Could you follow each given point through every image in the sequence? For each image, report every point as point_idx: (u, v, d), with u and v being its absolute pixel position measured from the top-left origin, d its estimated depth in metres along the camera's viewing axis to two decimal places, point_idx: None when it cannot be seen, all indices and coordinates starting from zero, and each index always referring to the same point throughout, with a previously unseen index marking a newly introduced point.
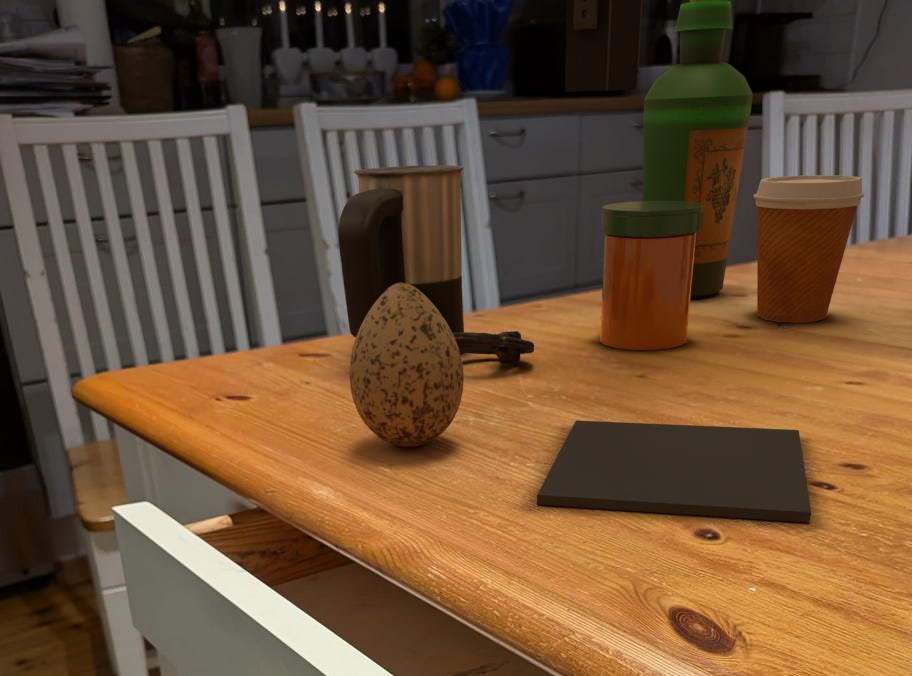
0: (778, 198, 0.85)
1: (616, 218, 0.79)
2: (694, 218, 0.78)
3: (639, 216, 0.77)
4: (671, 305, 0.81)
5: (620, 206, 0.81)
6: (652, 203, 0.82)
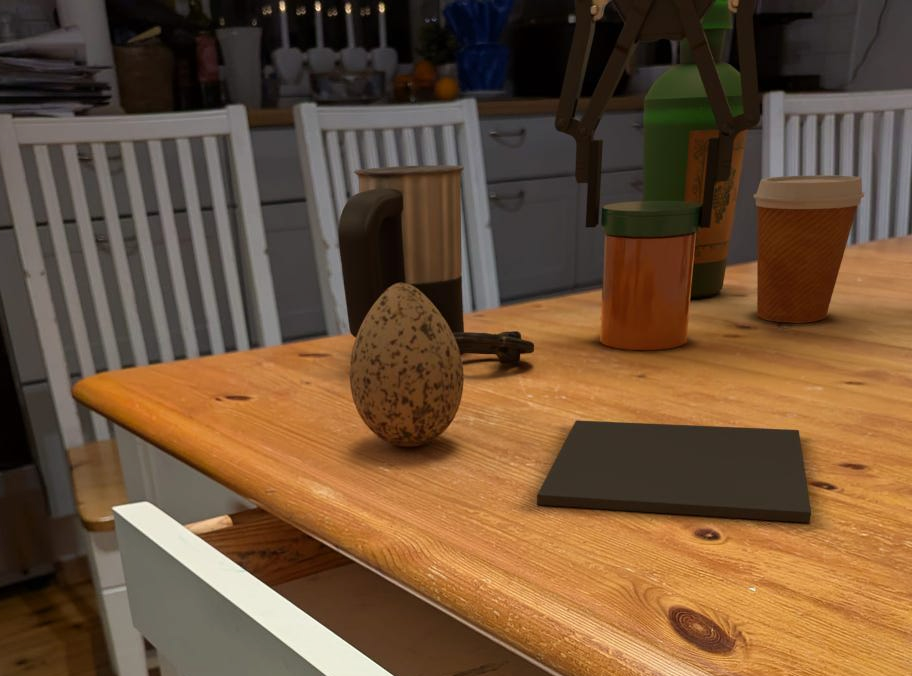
0: (778, 198, 0.85)
1: (616, 218, 0.79)
2: (694, 218, 0.78)
3: (639, 216, 0.77)
4: (671, 305, 0.81)
5: (620, 206, 0.81)
6: (652, 203, 0.82)
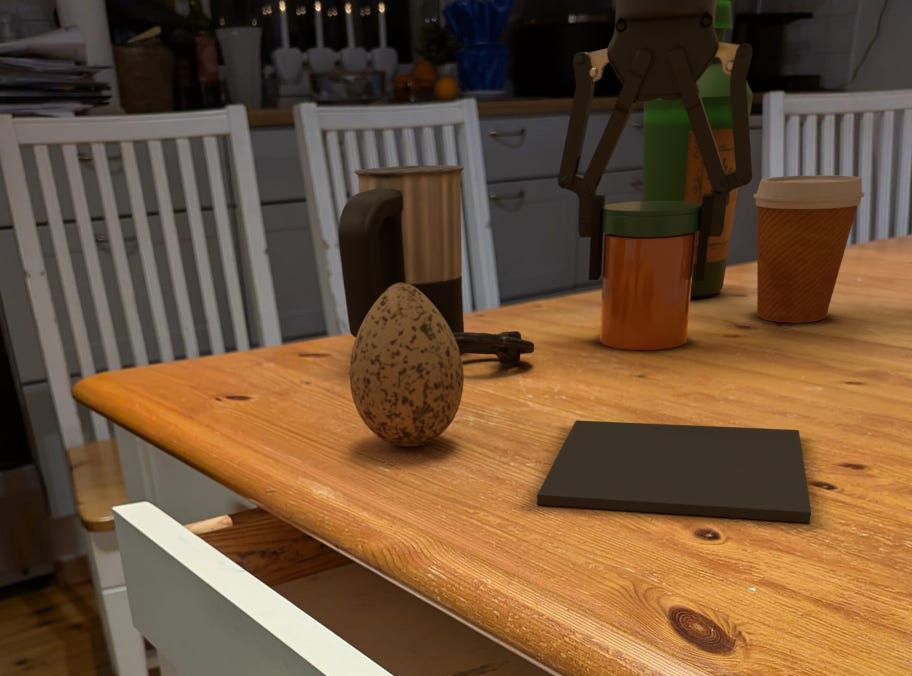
0: (778, 198, 0.85)
1: (616, 218, 0.79)
2: (694, 218, 0.78)
3: (639, 216, 0.77)
4: (671, 305, 0.81)
5: (620, 206, 0.81)
6: (652, 203, 0.82)
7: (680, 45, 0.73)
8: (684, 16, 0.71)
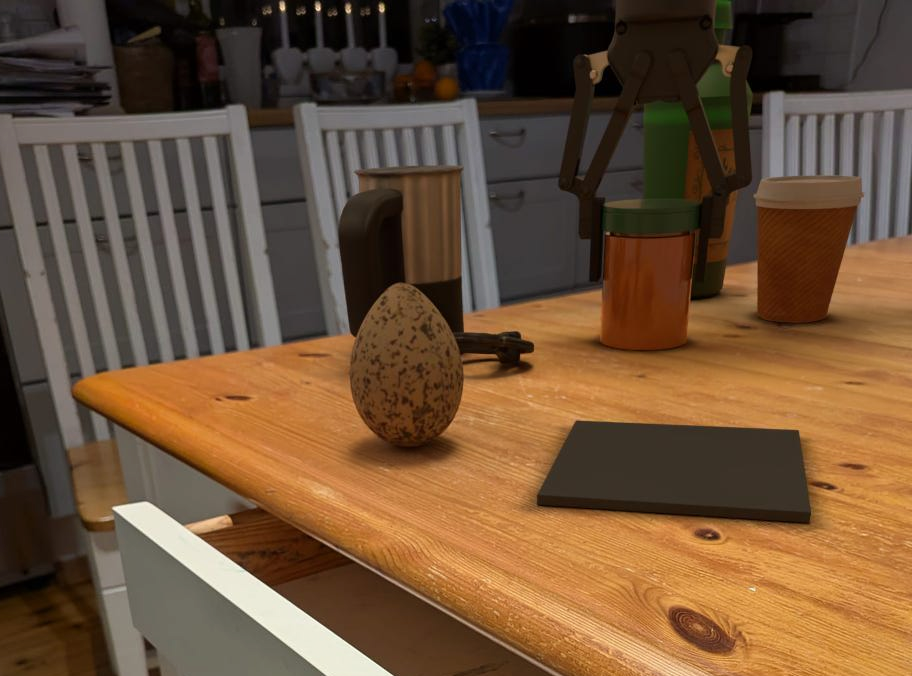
0: (778, 198, 0.85)
1: (668, 216, 0.77)
2: None
3: (690, 211, 0.78)
4: (671, 305, 0.81)
5: (638, 206, 0.78)
6: (633, 202, 0.81)
7: (680, 47, 0.74)
8: (684, 18, 0.71)
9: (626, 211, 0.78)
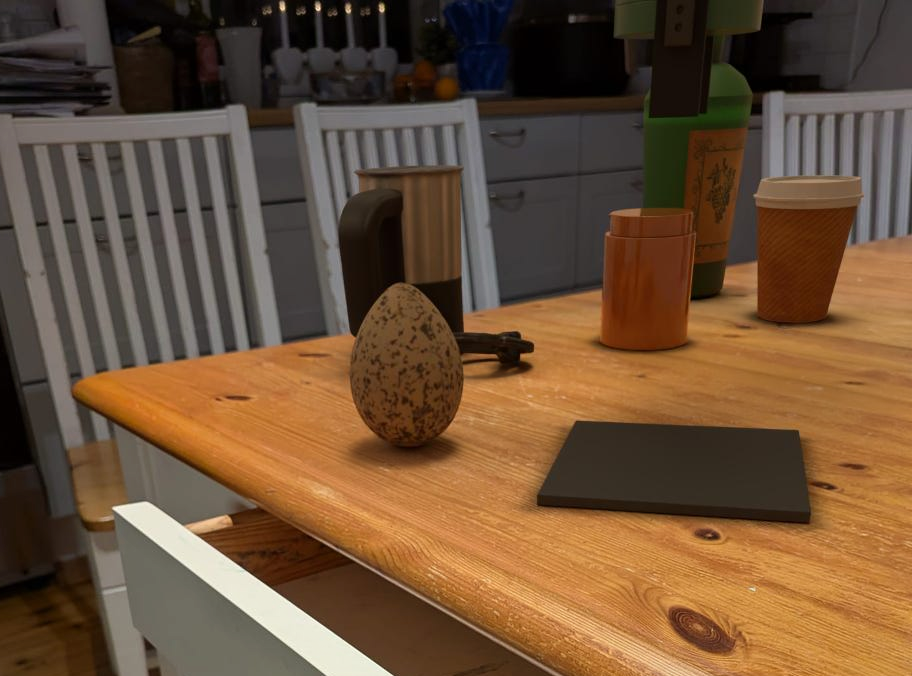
0: (778, 198, 0.85)
1: None
2: None
3: None
4: (671, 305, 0.81)
5: None
6: None
7: None
8: None
9: None
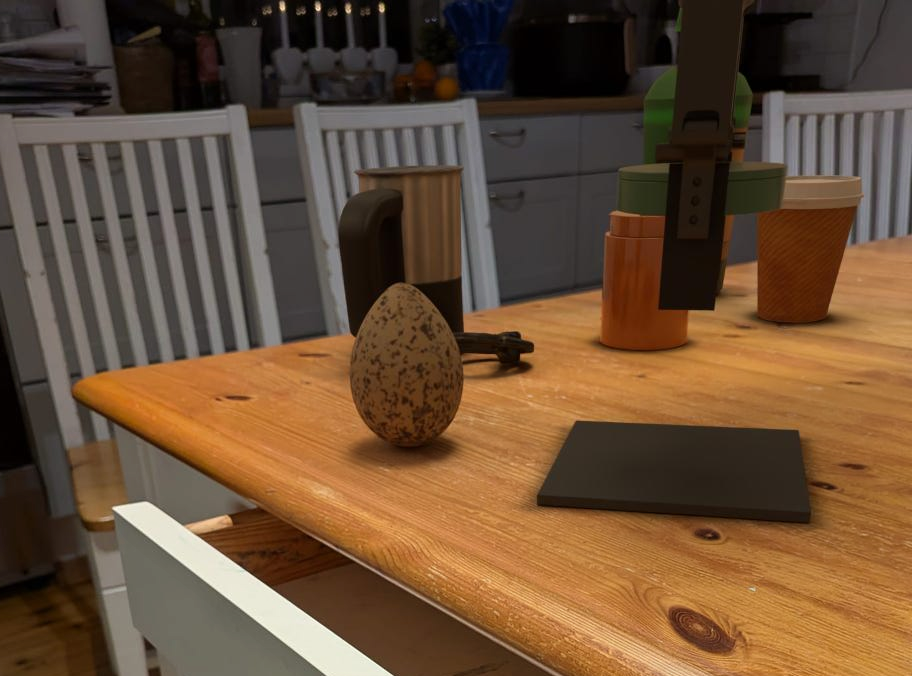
0: None
1: None
2: None
3: None
4: None
5: (751, 167, 0.47)
6: None
7: None
8: None
9: (779, 172, 0.46)
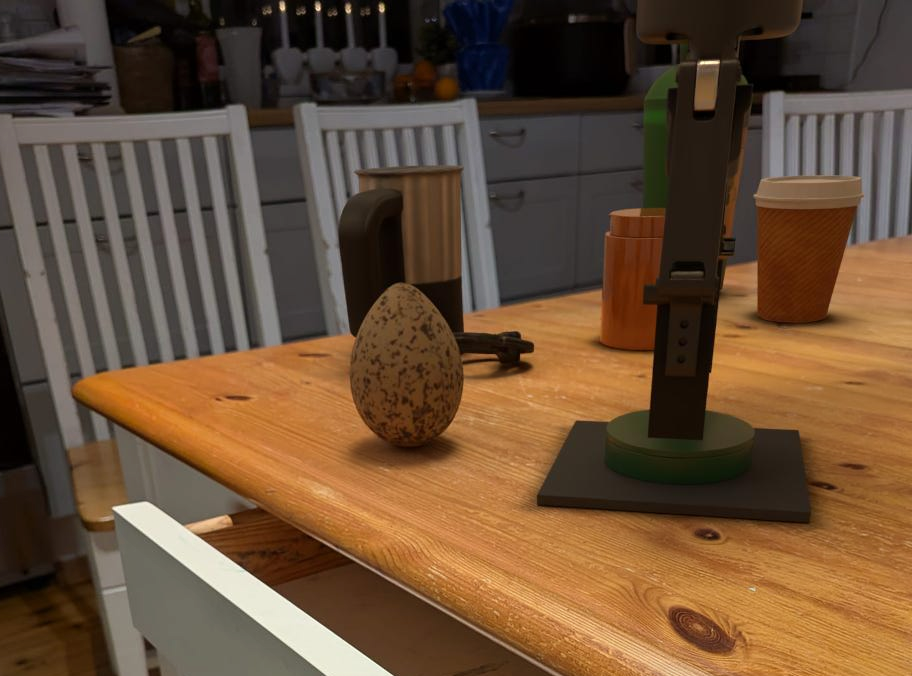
0: (778, 198, 0.85)
1: None
2: None
3: None
4: None
5: (722, 435, 0.53)
6: None
7: None
8: (777, 36, 0.46)
9: (747, 444, 0.53)
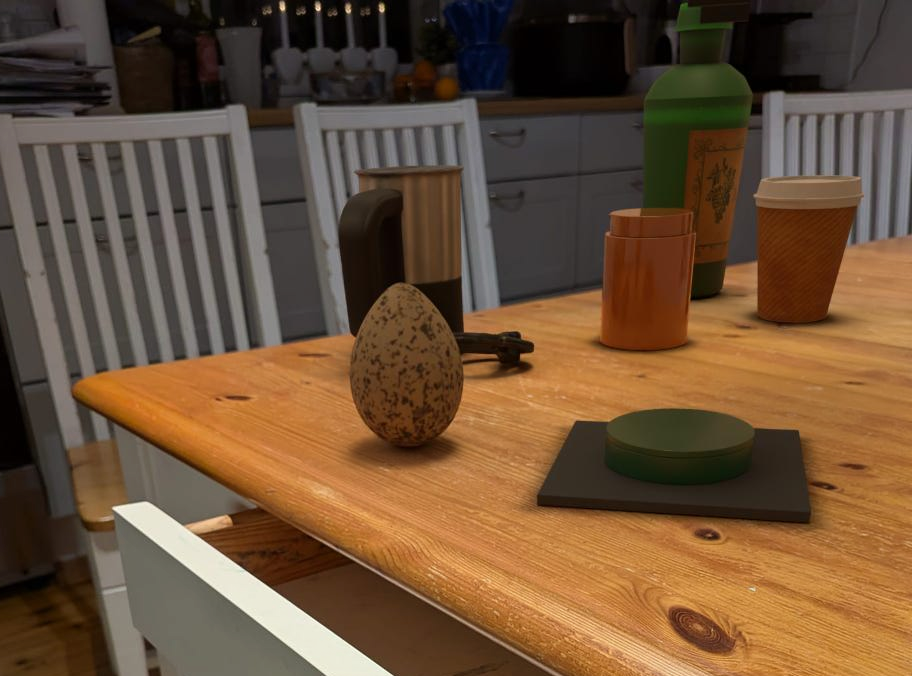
0: (778, 198, 0.85)
1: None
2: None
3: None
4: (671, 305, 0.81)
5: (722, 435, 0.53)
6: (664, 436, 0.54)
7: None
8: None
9: (747, 444, 0.53)
